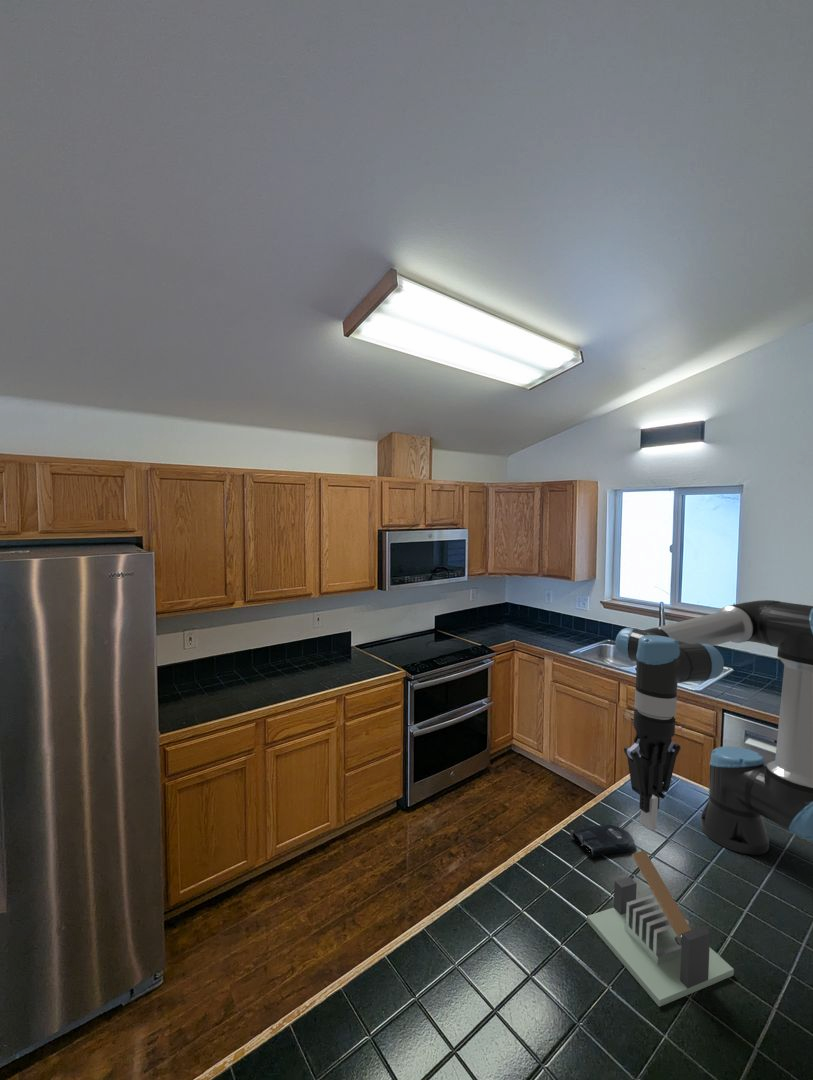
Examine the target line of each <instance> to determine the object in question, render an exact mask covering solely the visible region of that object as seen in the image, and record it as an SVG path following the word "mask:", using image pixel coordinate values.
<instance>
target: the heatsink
mask: <svg viewBox="0 0 813 1080" xmlns="http://www.w3.org/2000/svg"><path fill="white" fill-rule="evenodd" d="M685 920H686V922H687V923H688V925H689V924H690V921H689V920H688V919H686V918H685ZM689 926H690V925H689ZM624 930H625V931H626V932H627V933H628V934H629V935H630V936H631V937H632V938H633V939H634V941H635V942H636V943H637V944H638V945H639V946H640V947H641V948H642V949H643V950H644V951H645V952H646V954H647V955H648V956H649V957H650V958H651V959H652V960H653V961H654V962H655V963H656V964H657V965H660V964H662V963H665V962H667V961H670V960H673V959H675V958H678V957H680V956H681V945H678V944H677V943H676V941H675V937H676V936H677V935H676V933H675V932H674V930H673V928H672V926H671V924H670V923H669V921H668V919H667V917H666V916H665V914H664V912H663V910H662V908H661V907H660V905H659V903H658V901H657V899H656V898H655V896H654V894H653V893H652V894H650V895H645V896H643V897H640V898H636V900H633V901H630V902H627V906H626V922H625V923H624Z"/></svg>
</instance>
